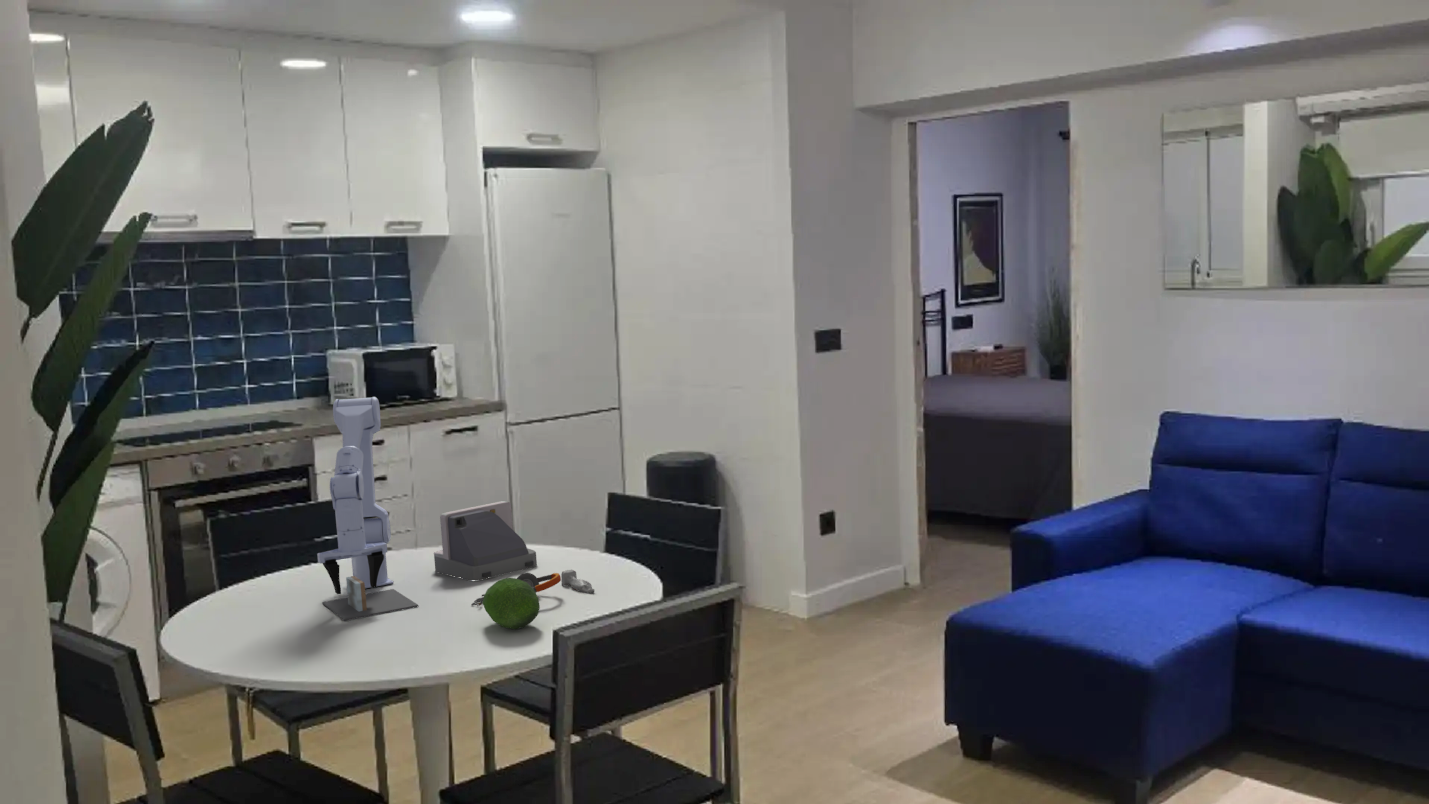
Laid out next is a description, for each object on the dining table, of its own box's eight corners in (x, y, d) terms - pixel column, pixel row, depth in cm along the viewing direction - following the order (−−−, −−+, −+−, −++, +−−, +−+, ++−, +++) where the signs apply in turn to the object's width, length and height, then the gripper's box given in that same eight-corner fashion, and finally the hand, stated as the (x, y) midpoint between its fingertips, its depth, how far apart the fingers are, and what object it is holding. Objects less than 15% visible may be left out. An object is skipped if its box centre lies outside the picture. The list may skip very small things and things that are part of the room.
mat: (322, 603, 275) (322, 601, 275) (393, 590, 283) (393, 588, 283) (344, 620, 260) (344, 619, 260) (418, 606, 268) (418, 604, 268)
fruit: (473, 623, 253) (469, 575, 252) (518, 613, 258) (514, 566, 257) (503, 639, 240) (499, 589, 239) (549, 628, 246) (546, 579, 245)
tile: (348, 604, 272) (346, 577, 271) (356, 602, 273) (354, 575, 272) (358, 611, 265) (356, 584, 264) (366, 610, 266) (364, 582, 265)
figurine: (574, 583, 282) (574, 568, 282) (599, 599, 272) (599, 583, 272) (560, 585, 280) (561, 570, 280) (585, 601, 271) (585, 585, 270)
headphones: (487, 577, 280) (568, 558, 275) (494, 600, 280) (574, 580, 275) (456, 598, 264) (541, 577, 259) (463, 622, 264) (548, 601, 259)
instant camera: (507, 554, 315) (503, 496, 313) (545, 568, 298) (541, 507, 296) (428, 570, 303) (424, 509, 301) (463, 585, 286) (458, 521, 284)
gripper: (321, 536, 260) (326, 599, 262) (389, 526, 268) (394, 587, 269) (312, 531, 266) (318, 593, 268) (379, 521, 274) (384, 581, 275)
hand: (355, 589), depth 269 cm, fingers open, 7 cm apart
